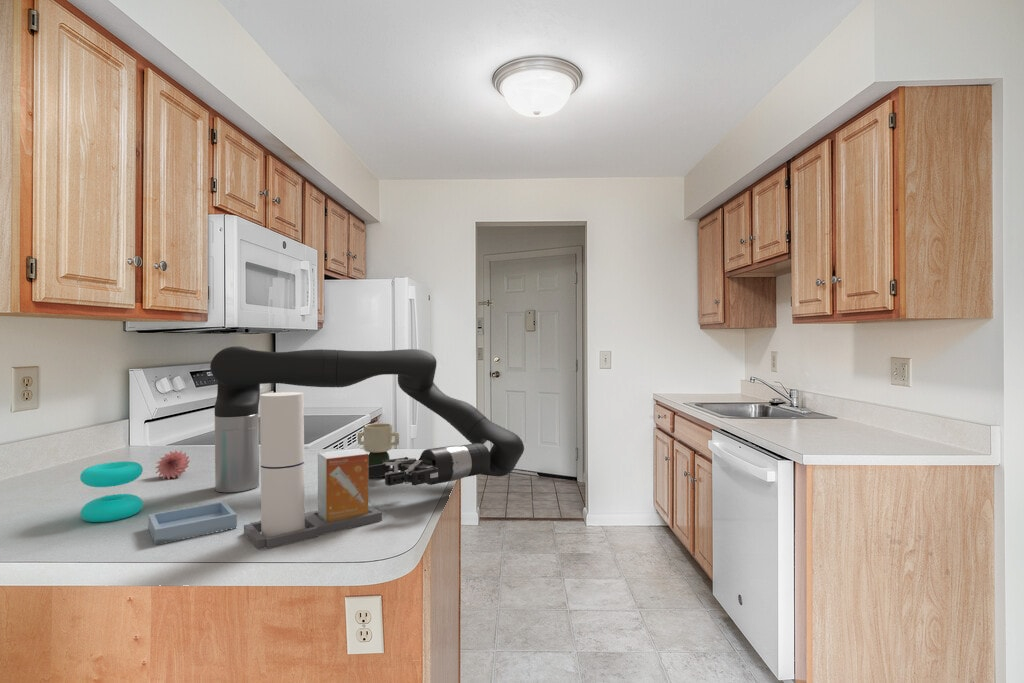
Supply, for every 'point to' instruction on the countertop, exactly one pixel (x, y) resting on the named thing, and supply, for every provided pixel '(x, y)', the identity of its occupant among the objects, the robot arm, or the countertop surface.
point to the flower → (173, 464)
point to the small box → (342, 484)
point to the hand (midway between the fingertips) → (376, 476)
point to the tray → (191, 522)
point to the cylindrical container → (282, 463)
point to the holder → (308, 528)
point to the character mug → (378, 442)
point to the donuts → (112, 504)
